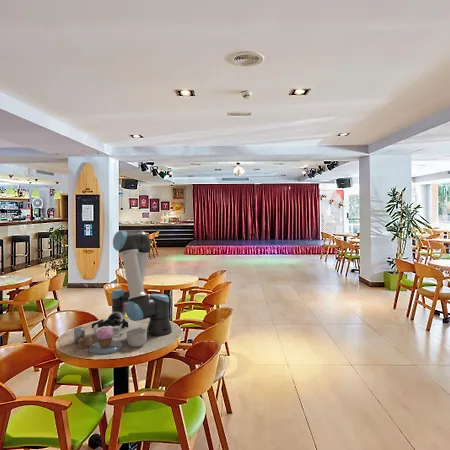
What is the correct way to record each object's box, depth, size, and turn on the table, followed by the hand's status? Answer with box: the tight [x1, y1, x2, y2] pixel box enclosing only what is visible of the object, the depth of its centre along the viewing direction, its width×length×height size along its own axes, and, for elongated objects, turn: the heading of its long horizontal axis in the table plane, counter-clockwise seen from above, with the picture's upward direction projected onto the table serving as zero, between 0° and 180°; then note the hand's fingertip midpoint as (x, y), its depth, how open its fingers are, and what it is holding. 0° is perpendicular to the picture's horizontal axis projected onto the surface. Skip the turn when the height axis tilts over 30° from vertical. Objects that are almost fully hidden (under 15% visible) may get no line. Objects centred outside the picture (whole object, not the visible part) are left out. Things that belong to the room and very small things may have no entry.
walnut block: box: [77, 336, 93, 349], centre depth 200 cm, size 6×6×4 cm
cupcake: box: [96, 327, 114, 348], centre depth 196 cm, size 9×9×10 cm
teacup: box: [125, 327, 148, 348], centre depth 202 cm, size 14×11×8 cm
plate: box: [88, 340, 123, 356], centre depth 196 cm, size 17×17×1 cm
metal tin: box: [73, 326, 86, 345], centre depth 206 cm, size 6×6×8 cm
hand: (106, 329), depth 199 cm, fingers open, 13 cm apart
